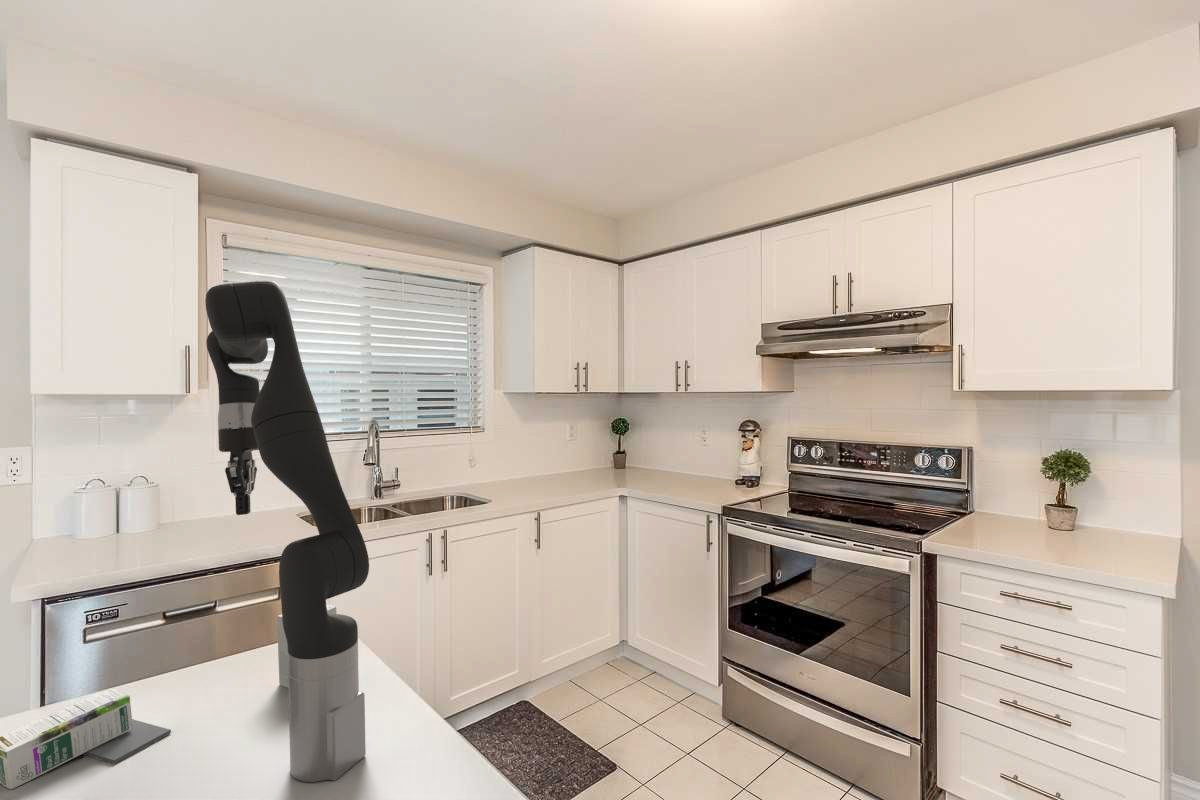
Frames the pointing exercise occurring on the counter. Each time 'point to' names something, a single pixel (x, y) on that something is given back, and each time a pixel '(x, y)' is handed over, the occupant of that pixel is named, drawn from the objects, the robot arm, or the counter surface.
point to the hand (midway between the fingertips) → (243, 514)
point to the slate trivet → (128, 742)
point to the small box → (284, 648)
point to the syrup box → (63, 736)
